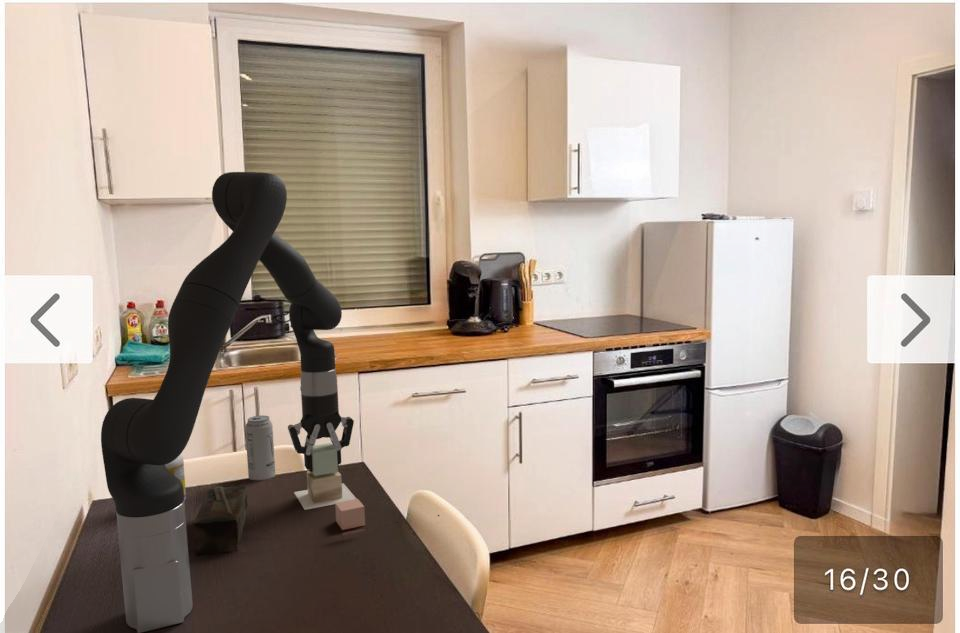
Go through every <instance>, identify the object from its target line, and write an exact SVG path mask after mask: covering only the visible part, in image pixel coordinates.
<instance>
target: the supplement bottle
mask: <svg viewBox="0 0 960 633" xmlns="http://www.w3.org/2000/svg"><path fill="white" fill-rule="evenodd" d="M184 462H185V461H184V457H183V456H182V455H181V454H180V455H179V456H178V457H177V458H176V459H175V460H174V461H172V462H170V463H168V464H165V467H166V468H167V469H168V470H169V471H170V472H171V473H172V474H173V475H174V476H176V477H177V478H178V479H179V480H180V481H181V482H182V484H183V489H184V501H186V499H187V491H186V479H185V478H186V477H185V467H184V466H185V464H184Z"/></svg>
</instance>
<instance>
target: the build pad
mask: <svg viewBox="0 0 960 633" xmlns="http://www.w3.org/2000/svg"><path fill="white" fill-rule="evenodd" d="M293 493H294V495H295V497H296V498H297V500H298V501H299V503H300V504H301V506H302V508H303V509H304V511H307V510H311V509H316V508H317V509H318V508H321V507H327V506H331V505H335V503H338V502H343V501H348V500H353V499H357V497H356V496H355V495H354V494H353V493H352V492H351V490H350V489H349V488H348V487H347V486H346V484H345V483H342V498H339V499H334V500H328V501H323V502H318V503H314V502H313V501H312V499H311V498H310V496H309V495H308V489H304V490H299V491H294V492H293Z"/></svg>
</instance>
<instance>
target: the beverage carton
mask: <svg viewBox="0 0 960 633" xmlns="http://www.w3.org/2000/svg"><path fill="white" fill-rule="evenodd" d="M247 491H248V489H247V486H245V485H244V486H242V485H240V486H239V485H238V486H229V487H227V486H226V487H223V486H216V487H214V488H210V489H208V490H207V493H206V495H205V497H204V499H203V501H202V504H201V505H200V508H199V510H198V512H197V515H196V517H195V520H194V522H193V526H192V530H193V531H192V532H193V535H192V536H193V549H194V550H193V552H194V556H198V555H207V554H209V555H210V554H221V553H228V552H229V553H230V552H236V551H238V548H237V546H238V545H239V543H240V540H241V537H242V535H243V534H242V533H243V529H244V526H245V522H246V512H247V508H248V492H247Z"/></svg>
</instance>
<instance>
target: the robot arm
mask: <svg viewBox="0 0 960 633" xmlns="http://www.w3.org/2000/svg"><path fill="white" fill-rule="evenodd" d="M287 195H288V194H287V188H286V184H285V183H284V181H283V180H282V179H281V177H279V176H277V175H275V174H273V173H268V172H262V171H261V172H257V171H256V172H255V171H229V172H224V173H222V174H221V175H219V176H218V177H217V178H216V179H215V181H214V183H213V186H212V191H211V200H212V204H213V207H214V209H215V212H216V213H217V214H218V216H219V218H220V219H221V220H222V222H223V223H224V224H225V225H226V227H228V228H229V229H230V230H231V231H232V232H231V233H230V235H229V236H228V237H227V239H225V241H223V243H222V244H221V245H220V246H218V247H217V248H215V250H214V251H212V252H211V253H209V254H208V255H207V256H206V257H205V258H203V259H202V260H201V261H200V262H199V263H198V264H197V265H195V267H194V268H193V269H192V270H191V271H190V272H188V274H187V275H186V277H184V279H183V281H182V284H181V286H180V288H179V289H178V292H177V294H176V295H175V298H174V300H173V303H172V305H171V308H170V309H169V310H170V311H169V312H168V313H169V314H168V318H167V331H168V334H167V335H168V346H169V362H168V367H167V371H166V372H165V375H164V377H163V380H162V383H161V385H160V386H159V389H158V391H157V393H156V395H155V396H154V397H153V399H150V398H144V397H142V398H141V397H130V398H124V399H121V400H119V401H117V402H115V404H113V405H112V406H110V408H109V409H108V411H107V412H106V414H105V415H104V418H103V421H102V424H101V425H102V426H101V431H100V445H101V446H100V447H101V454H102V459H103V460H102V461H103V467H104V473H105V480H106V486H107V490H108V493H109V495H110V496H111V498H112V499H113V501H114V505H115V514H116V524H117V536H118V538H117V539H118V546H119V547H118V548H119V549H118V550H119V558H120V569H121V580H122V590H123V592H122V593H123V601H124V613H125V621H126V622H125V623H126V625H127V626H129V627H130V628H132V629H135V630H136V633H144V632H150V631H153V630H157V629H160V628H161V629H162V628H166V627H169V626H173V625H177V624H181V623H184V620H185V618H186V617H187V616H188V615H189V614H190V613H191V611H192V610H193V595H192V594H193V592H192V580H191V569H190V557H189V554H190V553H189V545H188V544H189V541H188V530H187V516H186V502H185V501H186V500H185V501H184V489H183V484H182V482H181V481H180V480H179V479H178V478H177V477H176V476H174V475H173V474H172V473H171V472H170V471H169V470H168V469H167V468H166V467H165V464H168V463H170V462H172V461H174V460H175V459H176V458H177V457H178V456H179V455H181V454H182V453H183V451H184V450H185V449H186V447H187V445H188V444H189V441H190V438H191V436H192V433H193V431H194V428H195V425H196V422H197V421H196V420H197V418H198V414H199V412H200V411H199V410H200V407H201V405H202V401H203V398H204V395H205V391H206V388H207V386H208V382H209V379H210V376H211V374H212V372H213V369H214V366H215V365H216V364H215V363H216V361H217V359H218V357H219V353H220V351H221V349H222V347H223V344H224V341H225V339H226V337H227V335H228V332H229V330H230V329H231V327H232V324H233V321H234V319H235V318H236V315H237V312H238V309H239V307H240V305H241V302H242V300H243V296H244V294H245V291H246V289H247V287H248V284H249V282H250V280H251V278H252V276H253V273H254V271H255V269H256V267H257V265H258V264H259V263H258V262H261V264H262V265H263V266H264V267H265V269H266V270H267V272H268V273H269V274H270V276H271V277H272V279H273V281H274V282H275V284H276V285H277V287H278V288H279V290H280V291H281V293H282V295H283V296H284V298H285V299H286V300H287V301H288V302H290V306H289V309H288V310H289V311H288V318H289V322H290V326H291V328H292V331H293V334H294V337H295V340H296V343H297V346H298V349H299V355H300V358H299V360H300V387H299V388H300V390H299V391H300V392H301V393H300V397H301V398H300V399H301V412H302V413H301V414H302V416H301V419H300V422H297V423H296V424H288V425H287V431H288V434H289V436H290V438H291V441H292V445H293V448H294V450H295V451H296V453H297V454H302V455H303V462H304V463H303V464H304V468H305V469H306V470H307V471H309V472H312V471H313V467H312V455H311V453H312V449H313V446H315V444H316V441H317V440H320V439H323V438H326V439H328V438H329V439H330V443H331V444H332V445H333V446H334V447H335V448H336V449H337V461H338V468H339V467H340V465H341V464H342V449H343V448H344V447H349V446H350V443H351V438H352V432H353V428H354V424H355V423H354V422H355V421H354V419H353V418H351V417H350V416H346V417H343V416H341V415H340V412H339V409H340V408H339V393H338V392H339V391H338V389H339V388H338V376H337V373H336V372H337V370H336V355H335V352H336V351H335V346H334V343H332V342H331V341H329V340H325V339H322V338H320V337H318V335H317V334H316V332H315V331H330V330H331V331H332V330H334V329H336V328H337V326H339V324H340V323H341V320H342V314H343V313H342V306H341V304H340V302H339V300H338V299H337V297H336V296H335V295H334V294H333V293H332V292H331V291H330V290H329V289H328V288H327V287H326V286H325V285H324V284H323V283H322V282H320V281H319V280H317V278H316V277H315V274H314V273H313V271H312V269H311V267H310V266H309V264H308V262H307V261H306V259H305V258H304V257H303V256H302V254H301V253H300V252H299V251H298V250H297V249H295V248H294V247H293V246H292V245H291V244H290V243H288V242H287V241H286V240H285V239H283V238H282V237H280V236H279V235H278V234H277V232H276V230H277V228H278V227H279V224H280V223H281V220H282V218H283V216H284V213H285V209H286V206H287V201H288V200H287V197H288V196H287ZM340 424H341V426H342V427H343V430H342V435H341V438H340V440H339V437H338V435H337V433H336V431H337V429H338V427H339V426H340ZM301 429H304V431H305V432H306V437H305V443H304V445H302V444H301V441H300V438H299V435H300V434H301Z"/></svg>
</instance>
